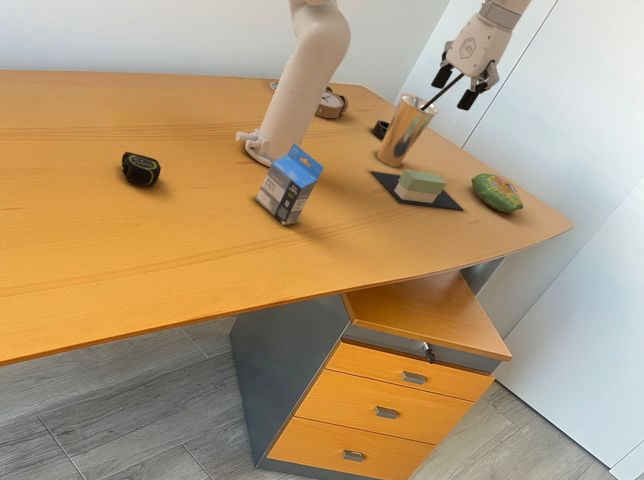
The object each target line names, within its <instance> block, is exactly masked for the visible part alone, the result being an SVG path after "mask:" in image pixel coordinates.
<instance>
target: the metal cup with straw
mask: <svg viewBox="0 0 644 480" xmlns="http://www.w3.org/2000/svg"><path fill="white" fill-rule="evenodd" d="M464 77H465V75H464V74H463V73H462V72H460V73H459V74H458V75H457V76H456V77H455V78H454V79H453V80H452V81H450V82H449V83H447V85H445V86H444V88H443V89H440V91H439V92H438V93H437V94H435V96H433V97H432V98H431V99H430V100H429V101H428V100H426V99H424V98H422V97H420V96H417V95H414V94H412V93H408V92H407V93H406V92H401V93H400V94H399V101H398V103H397V106H396V108H395V110H394V113H393V115H392V117H391V119H390V122H389V123H390V124H389V127H388V129H387V132H386V134H385V137H384V139H383V140H382V142H381V144H380V145H379V149H378V151H377V153H376V158H377V159H378V160H379V161H381V162H382V163H384V164H386V165H388V166H391V167H396V168H397V167H400V166H401V164H402V162H403V161H404V160H405V158H406V157H407V155H408V154H409V152H410V151H411V149H412V148H413V147H414V146H415V144H416V143H417V141H418V140H419V138H420V137H421V136H422V134H423V133H424V131H425V130H426V128H427V127H428V126H429V124H430V123H431V121H432V120H433V119H434V117H436V115H439V113H440V111H439V109H438V108H437V107H436V105H434V103H435V102H436V101H437V100H438V99H439V98H440V97H442V96H443V95H444V94H445V93H446V92H447V91H448V90H450V89H451V88H452V87H453V86H455V85H456V84H457V83H458V82H459V81H461V79H462V78H464Z"/></svg>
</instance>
